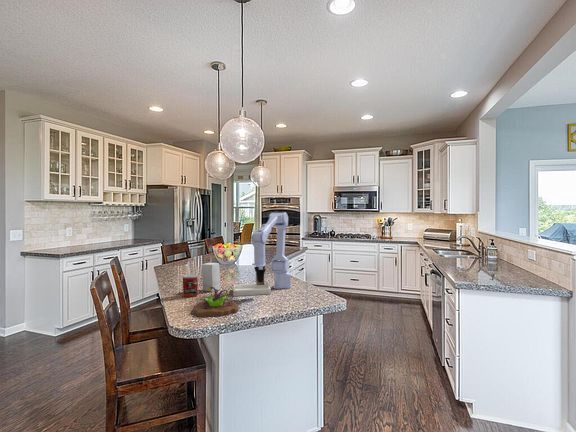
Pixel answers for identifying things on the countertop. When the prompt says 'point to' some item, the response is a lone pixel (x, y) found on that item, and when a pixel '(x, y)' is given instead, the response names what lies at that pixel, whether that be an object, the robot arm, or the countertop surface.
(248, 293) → the tray
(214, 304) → the plant
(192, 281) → the canned food
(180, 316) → the countertop surface
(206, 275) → the skincare box
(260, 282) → the walnut block
